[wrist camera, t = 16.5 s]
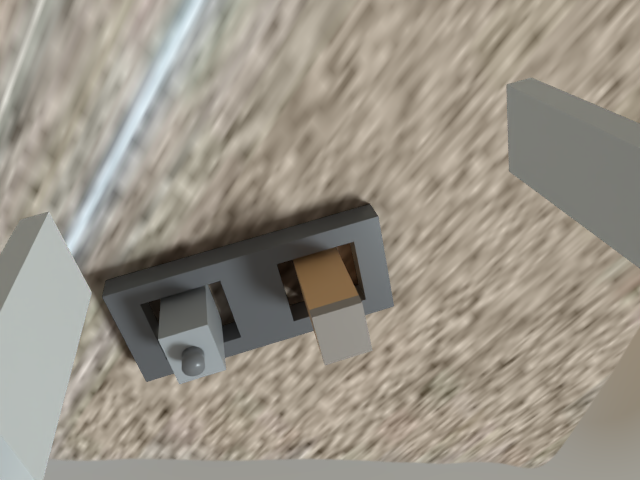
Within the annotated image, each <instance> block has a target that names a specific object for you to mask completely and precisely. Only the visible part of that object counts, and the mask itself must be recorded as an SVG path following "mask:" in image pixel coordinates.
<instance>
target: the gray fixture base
mask: <svg viewBox="0 0 640 480" xmlns="http://www.w3.org/2000/svg"><path fill="white" fill-rule="evenodd" d="M347 243H350V245H351V250H352V255H353V260H354V264H355V269H356V274H357V279H358V283H359V285H357V286H355V288H356V291H357V293H358V295H359V297H360V299H361V301H362V304H363V309H364V313H365V315H367V314H370V313H373V312H377V311H380V310H383V309H387V308H390V307H393V306H394V304H393V298H392V292H391V286H390V281H389V275H388V269H387V263H386V258H385V252H384V246H383V240H382V235H381V229H380V223H379V217H378V215H377V214H376V212H375V211H374V209H373V208H372V206H371V205H370V204H368V205H365V206H362V207H358V208H355V209H351V210H348V211H344V212H341V213H337V214H334V215H330V216H327V217H324V218H320V219H317V220H313V221H310V222H306V223H303V224H299V225H296V226H292V227H289V228H286V229H282V230H279V231H275V232H272V233H268V234H265V235H261V236H258V237H255V238H251V239H248V240H244V241H241V242H237V243H234V244H230V245H227V246H223V247H220V248H217V249H213V250H210V251H206V252H203V253H199V254H196V255H192V256H189V257H185V258H182V259H179V260H175V261H172V262H168V263H165V264H161V265H158V266H154V267H151V268H148V269H144V270H141V271H137V272H134V273H130V274H127V275H123V276H120V277H116V278H113V279H110V280H106V282H105V287H104V291H103V296H102V298H103V299H104V301H105V303H106V305H107V307H108V309H109V311H110V313H111V315H112V317H113V319H114V321H115V322H116V324H117V326H118V328H119V330H120V332H121V334H122V336H123V338H124V340H125V342H126V344H127V346H128V347H129V349H130V351H131V353H132V355H133V357H134V359H135V361H136V363H137V365H138V367H139V369H140V371H141V372H142V374H143V376H144V378H145V380H146V382H148V381H151V380H154V379H157V378H161V377H164V376H167V375H171V374H175V376H176V378H177V380H178V382H179V384H181V383H185V382H188V381H191V380H194V379H198V378H201V377H204V376H207V375H211V374H214V373H217V372H220V371H224V370H226V364H225V358H226V357H229V356H233V355H236V354H239V353H243V352H246V351H249V350H252V349H256V348H259V347H262V346H265V345H269V344H272V343H275V342H279V341H282V340H285V339H288V338H292V337H295V336H298V335H301V334H305V333H308V332H311V331H314V329H313V326H312V323H311V320H310V317H309V314H308V311H307V308H306V304H305V301H303V302H300V303H297V304H294V305H290V306H289V303H288V299H287V296H286V293H285V289H284V286H283V283H282V279H281V276H280V273H279V269H278V266H277V264H279V263H283V262H286V261H289V260H293V259H296V258H300V257H303V256H306V255H310V254H313V253H317V252H320V251H323V250H327V249H330V248H334V247H337V246H340V245H344V244H347ZM218 281H220V282H221V284H222V287H223V290H224V292H225V295H226V298H227V300H228V303H229V306H230V308H231V311H232V314H233V316H234V319H235V322H234V323H230V324H227V325H224V326H222V320H221V317H220V314H219V312H218V309H217V307H216V304H215V302H214V299H213V296H212V294H211V291H210V289H209V286H208V284H211V283H215V282H218ZM160 298H161V304H160V318H159V324H158V322H157V320H156V317H155V315H154V313H153V311H152V309H151V307H150V305H149V302H150V301H154V300H157V299H160Z"/></svg>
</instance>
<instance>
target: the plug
mask: <svg viewBox="0 0 640 480" xmlns="http://www.w3.org/2000/svg"><path fill="white" fill-rule="evenodd" d="M293 263H294V267H295V270H296V274H297V277H298V281H299V284H300V288H301V292H302V295H303V298H304V301H305V304H306V308H307V311H308V314H309V317H310V320H311V323H312V326H313V329H314V333H315V336H316V339H317V342H318V345H319V348H320V351H321V354H322V358H323V361H324V364H325V365H327V364H331V363H334V362H337V361H340V360H343V359H347V358H350V357H353V356H356V355H360V354H363V353H366V352H369V351H372V346H371V342H370V337H369V332H368V328H367V323H366V318H365V313H364V309H363V304H362V301H361V299H360V297H359V295H358V293H357V291H356V288H355V286H354V284H353V282H352V280H351V278H350V276H349V274H348V272H347V269H346V267H345V265H344V263H343V261H342V259H341V257H340V255H339V253H338V250H337V248H336V247H334V248H330V249H327V250H323V251H320V252H317V253H313V254H310V255H306V256H303V257H300V258H296V259H293Z"/></svg>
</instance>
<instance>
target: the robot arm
mask: <svg viewBox="0 0 640 480" xmlns="http://www.w3.org/2000/svg"><path fill="white" fill-rule="evenodd" d="M507 118H508V151H509V172H511V173H512V174H513V175H515V176H516V177H518V178H519V179H520V180H522V181H523V182H524V183H526V184H527V185H528V186H530V187H531V188H532V189H534V190H535V191H536V192H538V193H539V194H540V195H542V196H543V197H544V198H546V199H547V200H548V201H550V202H551V203H553V204H554V205H555V206H557V207H558V208H559V209H561V210H562V211H563V212H565V213H566V214H567V215H569V216H570V217H571V218H573V219H574V220H575V221H577V222H578V223H579V224H581V225H582V226H583V227H585V228H586V229H587V230H589V231H590V232H592V233H593V234H594V235H596V236H597V237H598V238H600V239H601V240H602V241H604V242H605V243H606V244H608V245H609V246H610V247H612V248H613V249H614V250H616V251H617V252H618V253H620V254H621V255H622V256H624V257H625V258H627V259H628V260H629V261H631V262H632V263H633V264H635V265H636V266H637V267H639V268H640V123H637V122H635V121H633V120H630V119H628V118H626V117H623V116H621V115H618V114H616V113H614V112H611V111H609V110H607V109H604V108H602V107H600V106H597V105H595V104H593V103H590V102H588V101H585V100H583V99H581V98H578V97H576V96H574V95H571V94H569V93H567V92H564V91H562V90H560V89H557V88H555V87H552V86H550V85H548V84H545V83H543V82H541V81H538V80H536V79H534V78H528V79H525V80H521V81H517V82H514V83H510V84H507ZM91 294H92V292H91V290H90V288H89V286H88V285H87V283H86V281H85V279H84V277H83V275H82V273H81V271H80V269H79V268H78V266H77V264H76V262H75V260H74V258H73V256H72V254H71V252H70V251H69V249H68V247H67V245H66V243H65V241H64V239H63V237H62V236H61V234H60V232H59V230H58V228H57V226H56V224H55V222H54V220H53V219H52V217H51V215H50V213H49V212H46V213H43V214H39V215H35V216H32V217H28V218H25V219H21V220H20V221H19V223H18V225H17V226H16V228H15V230H14V231H13V233H12V235H11V237H10V238H9V240H8V242H7V244H6V245H5V247H4V249H3V251H2V252H1V254H0V480H43V478H44V474H45V471H46V467H47V463H48V459H49V455H50V451H51V448H52V444H53V440H54V436H55V432H56V428H57V424H58V421H59V417H60V413H61V409H62V405H63V401H64V398H65V394H66V390H67V386H68V382H69V378H70V374H71V371H72V367H73V363H74V359H75V355H76V351H77V348H78V344H79V340H80V336H81V332H82V328H83V324H84V321H85V317H86V313H87V309H88V305H89V301H90V298H91Z"/></svg>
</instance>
